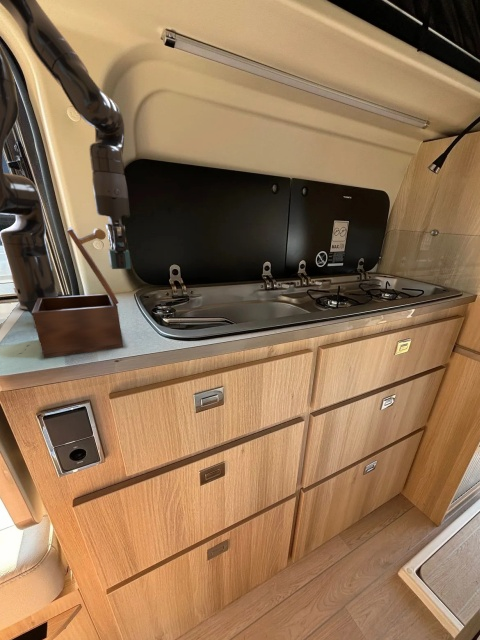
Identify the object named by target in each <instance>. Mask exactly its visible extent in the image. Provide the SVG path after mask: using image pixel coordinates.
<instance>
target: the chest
mask: <svg viewBox="0 0 480 640" xmlns="http://www.w3.org/2000/svg"><path fill="white" fill-rule="evenodd" d="M31 317H32V319H33V323H34V326H35V327H34V328H35V331H36V334H37V337H38V341H39V344H40V348H41V352H42V356H43V359H49V358H56V357H63V356H69V355H71V356H72V355H76V354H85V353H91V352H97V351H103V350H112V349H119V348H124V342H123V341H124V340H123V334H122V330H121V329H122V328H121V322H120V315H119V309H118V304H116V305H115V304H114V303H113V301H112V299H111V298H110V296H109V295H108V293H100V294H98V293H97V294H83V295H71V296H64V297H48V298H38V299H37V302H36V304H35V307H34V309H33V312H32V315H31Z"/></svg>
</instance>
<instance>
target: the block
mask: <svg viewBox="0 0 480 640" xmlns="http://www.w3.org/2000/svg"><path fill="white" fill-rule="evenodd" d="M107 252H108V259H109V260H108V261H109V267H110V268H111V269H112V270H131V268H132V266H131V265H132V264H131V258H130V251H129V250H128V249H127V250H126V252H125V260H126V268H118V267H117V264H116V257H115V252H114V249H111V248H107Z"/></svg>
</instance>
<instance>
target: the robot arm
mask: <svg viewBox="0 0 480 640" xmlns="http://www.w3.org/2000/svg"><path fill="white" fill-rule="evenodd" d="M0 5H1V7H3V8H4V9H5V10H6V11H7V12H8V13H9V15H10V16H11V17H12V18H13V20H14V21H15V23H16V24H17V25H18V27H19V29H20V31H21V32H22V35H23V36H24V39H25V41H26V42H27V44H28V46H29V48H30V49H31V51H32V52H33V54H34V55H35V57H36V58H37V59H38V60H39V62H40V63H41V64H42V66H43V67H44V68H45V70H46V71H47V72H48V73H49V74H50V76H51V77H52V78H53V79H54V81H55V82H56V83H57V84H58V86H60V87H61V89H62V91H63V93H64V95H65V96H66V98H67V100H68V101H69V103H70V104H71V106H72V107H73V109H74V110H75V111H76V113H77V114H78V115H79V116H80V117H81V119H83V121H84V122H85V123H86V124H88V125H89V126H90V127H92V128H94V142H92V143H91V144H89V147H88V148H89V149H88V151H89V160H90V168H91V173H92V175H91V177H92V180H91V181H92V189H93V195H94V196H93V197H94V202H95V210H96V214H97V215H98V216H103V217H107V219H108V223H106V224H105V228H106V232H107V236H108V237H107V238H108V241H109V246H110V249H114V252H115V257H116V264H117V267H118V268H126V260H125V252H126V250H128V249H127V239H126V227H125V224H123V223H122V219H121V218H130V217H131V211H130V201H129V191H128V185H127V180H126V176H125V175H126V173H125V164H124V163H125V162H124V155H123V153H124V148H125V147H124V146H125V119H124V116H123V113H122V110H121V108H120V106H119V105H118V104H117V102H116V101H114V100H113V99H112V98H111V97H110V96H108V95H107V94H106V93H105V92H103V90H101V88H100V87H99V86H98V85H97V83H96V82H95V81H94V80H93V78H92V77H91V76H90V73H89V70H88V68H87V66H86V65H85V63H84V62H83V60H82V59H81V58H80V56H79V55H78V54H77V52H76V51H75V49H73V47H72V45H70V43H69V42H68V41H67V39H66V38H65V37H64V35H63V34H62V32H61V31H60V29H58V28H57V26H56V25H55V24H54V22H53V20H51V18H50V17H49V16H48V15H47V13H46V12H45V10H44V9H43V7H42V6H41V5H40V3H39V1H37V0H0ZM18 116H19V102H18V95H17V87H16V82H15V76H14V73H13V70H12V67H11V65H10V62H9V60H8V58H7V55H6V54H5V51H4V50H3V47H2V45H1V44H0V215H8V216H9V215H10V216H12V215H13V216H15V222H14V223H13V224H12V225H11V226H9V227H7V228H5V229H2V230H1V231H0V240H1V244H2V247H3V251H4V255H5V259H6V261H7V265H8V268H9V272H10V276H11V279H12V282H13V285H14V287H13V290H14V293H15V294H16V297H17V300H18V304H19V309H21V310H25V311H29V310H28V309H27V307H26V306H25V302H27V301H33V300H37V299H38V298H48V297H56V296H61V295H63V292H62V291H59V292H58V290H57V285H56V282H55V277H54V273H53V268H52V264H51V259H50V255H49V250H48V247H47V243H46V232H47V231H46V224H45V223H46V222H45V219H44V212H43V206H42V201H41V196H40V193H39V191H38V189H37V187H36V184H34V182H33V181H32V180H31V179H30V178H28V177H26V176H23V175H19V174H13V173H7V172H5V171H4V170H5V169H4V161H3V158H4V157H3V156H4V155H3V154H4V153H3V152H4V147H5V144H6V141H7V139H8V138H9V136H10V134H11V132H12V130H13V128H14V126H15V124H16V123H17V120H18Z"/></svg>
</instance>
